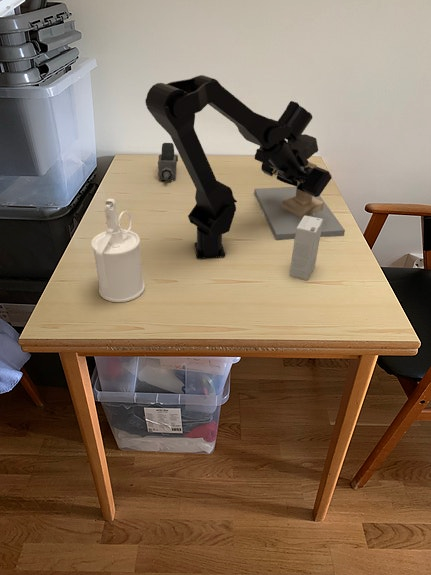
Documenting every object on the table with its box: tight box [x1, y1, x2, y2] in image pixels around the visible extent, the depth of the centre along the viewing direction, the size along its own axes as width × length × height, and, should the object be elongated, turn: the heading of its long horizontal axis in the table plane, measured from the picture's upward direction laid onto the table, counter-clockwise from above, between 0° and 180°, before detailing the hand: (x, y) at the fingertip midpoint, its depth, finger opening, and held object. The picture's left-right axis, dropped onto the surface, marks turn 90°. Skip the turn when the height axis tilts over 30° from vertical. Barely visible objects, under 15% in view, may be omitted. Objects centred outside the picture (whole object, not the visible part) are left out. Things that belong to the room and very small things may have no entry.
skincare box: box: [289, 216, 323, 281], centre depth 99 cm, size 6×4×12 cm
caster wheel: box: [157, 142, 179, 182], centre depth 141 cm, size 6×10×15 cm
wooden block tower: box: [282, 161, 325, 218], centre depth 120 cm, size 8×7×12 cm
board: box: [253, 186, 346, 241], centre depth 125 cm, size 26×17×2 cm, turn 8°
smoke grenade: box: [90, 198, 146, 303], centre depth 91 cm, size 10×9×20 cm
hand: (308, 188), depth 121 cm, fingers closed on wooden block tower, 3 cm apart
